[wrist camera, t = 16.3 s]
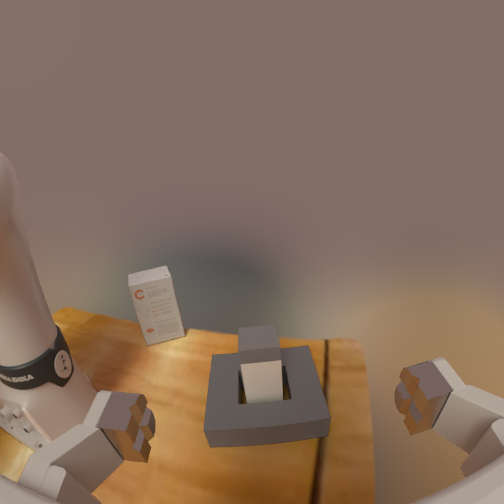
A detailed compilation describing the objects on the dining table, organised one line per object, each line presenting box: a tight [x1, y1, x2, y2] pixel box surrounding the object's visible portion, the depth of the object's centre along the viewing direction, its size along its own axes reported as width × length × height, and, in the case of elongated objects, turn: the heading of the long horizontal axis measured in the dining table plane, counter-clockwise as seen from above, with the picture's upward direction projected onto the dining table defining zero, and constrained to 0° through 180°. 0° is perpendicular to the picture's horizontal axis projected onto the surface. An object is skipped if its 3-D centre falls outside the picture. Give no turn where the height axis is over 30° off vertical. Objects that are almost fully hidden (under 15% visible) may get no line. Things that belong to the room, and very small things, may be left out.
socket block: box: [204, 345, 331, 447], centre depth 36 cm, size 15×15×4 cm
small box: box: [128, 266, 185, 346], centre depth 54 cm, size 8×6×13 cm
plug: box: [238, 324, 283, 404], centre depth 35 cm, size 5×5×12 cm
